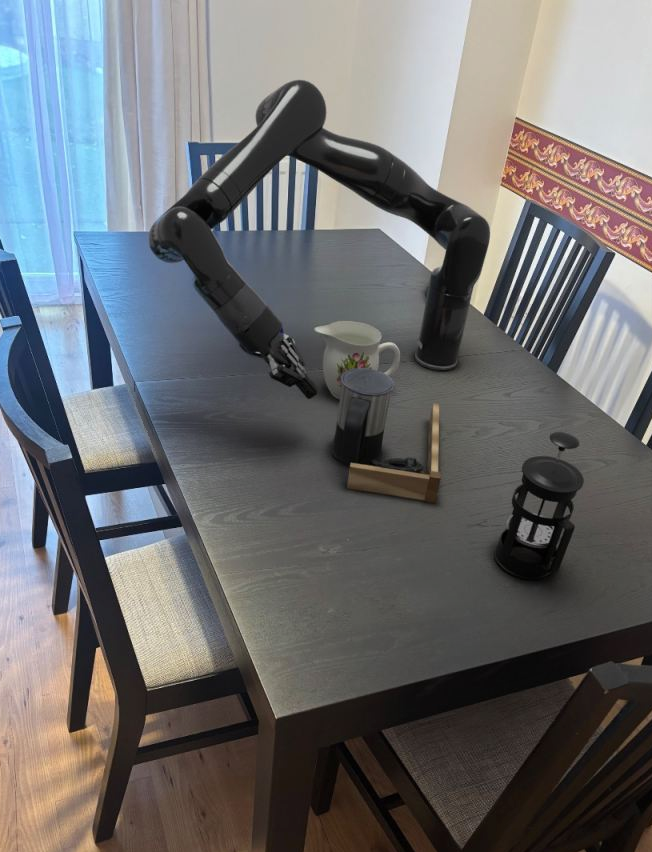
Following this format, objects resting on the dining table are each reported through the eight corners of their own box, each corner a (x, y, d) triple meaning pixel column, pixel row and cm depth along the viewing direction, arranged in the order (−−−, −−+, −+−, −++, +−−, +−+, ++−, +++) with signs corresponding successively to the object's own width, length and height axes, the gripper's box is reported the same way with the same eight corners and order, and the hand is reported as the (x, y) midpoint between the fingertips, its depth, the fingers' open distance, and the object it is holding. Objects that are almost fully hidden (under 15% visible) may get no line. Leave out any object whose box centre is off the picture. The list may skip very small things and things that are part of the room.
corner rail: (360, 412, 153) (363, 389, 150) (436, 424, 153) (441, 401, 150) (346, 489, 133) (350, 464, 130) (434, 503, 133) (440, 478, 130)
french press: (479, 545, 125) (515, 423, 111) (525, 533, 129) (566, 413, 115) (524, 594, 117) (569, 469, 103) (571, 579, 121) (621, 456, 107)
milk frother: (329, 437, 145) (338, 365, 136) (413, 442, 147) (427, 371, 138) (334, 482, 134) (344, 407, 125) (424, 487, 136) (441, 414, 127)
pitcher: (401, 406, 157) (412, 343, 149) (313, 407, 153) (320, 342, 144) (386, 379, 165) (397, 318, 157) (302, 379, 161) (308, 316, 152)
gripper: (238, 314, 136) (301, 388, 143) (223, 347, 125) (292, 424, 133) (271, 289, 133) (334, 366, 140) (258, 321, 122) (327, 402, 130)
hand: (313, 394), depth 136 cm, fingers closed
